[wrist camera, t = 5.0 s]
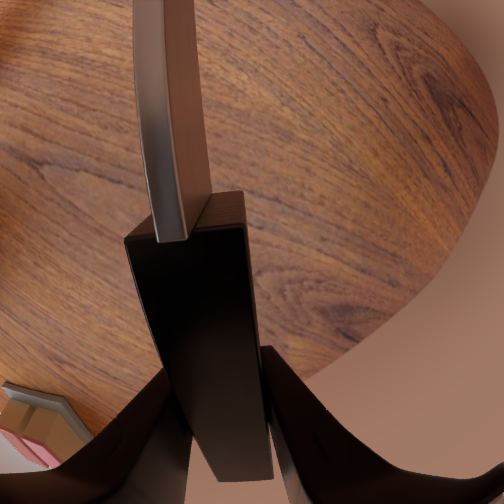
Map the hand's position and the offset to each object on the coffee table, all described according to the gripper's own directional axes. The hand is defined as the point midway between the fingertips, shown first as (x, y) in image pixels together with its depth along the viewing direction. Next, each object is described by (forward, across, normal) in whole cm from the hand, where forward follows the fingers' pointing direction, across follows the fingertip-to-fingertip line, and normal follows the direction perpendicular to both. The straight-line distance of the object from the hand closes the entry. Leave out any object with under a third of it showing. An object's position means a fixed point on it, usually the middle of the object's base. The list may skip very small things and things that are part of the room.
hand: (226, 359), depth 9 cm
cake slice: (+9, +25, +21) cm, 34 cm away
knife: (+1, 0, -6) cm, 6 cm away
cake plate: (+10, +27, +21) cm, 36 cm away
